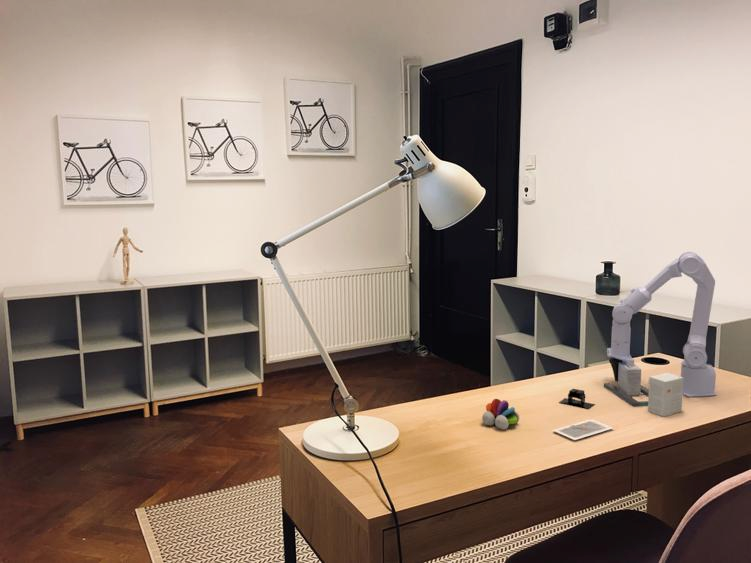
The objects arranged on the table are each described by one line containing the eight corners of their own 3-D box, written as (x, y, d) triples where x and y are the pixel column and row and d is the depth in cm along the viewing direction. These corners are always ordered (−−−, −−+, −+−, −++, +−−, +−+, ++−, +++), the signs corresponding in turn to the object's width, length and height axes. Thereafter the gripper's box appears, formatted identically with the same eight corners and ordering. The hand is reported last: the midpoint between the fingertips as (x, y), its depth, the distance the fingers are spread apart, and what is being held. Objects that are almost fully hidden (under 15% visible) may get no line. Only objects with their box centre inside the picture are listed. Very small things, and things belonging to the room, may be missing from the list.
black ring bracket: (552, 404, 197) (552, 390, 196) (561, 398, 202) (562, 383, 201) (592, 413, 189) (592, 398, 188) (601, 406, 194) (601, 391, 194)
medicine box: (640, 395, 201) (642, 369, 200) (626, 396, 201) (627, 369, 200) (631, 387, 209) (632, 361, 208) (617, 387, 209) (618, 362, 208)
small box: (665, 406, 192) (667, 372, 190) (682, 412, 187) (684, 377, 185) (646, 411, 188) (648, 376, 187) (663, 417, 183) (665, 381, 182)
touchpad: (613, 431, 175) (614, 424, 174) (574, 444, 167) (574, 436, 167) (590, 422, 181) (591, 415, 181) (552, 434, 174) (552, 426, 173)
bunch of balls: (495, 416, 186) (495, 392, 185) (524, 424, 180) (524, 399, 178) (477, 424, 181) (477, 399, 179) (506, 433, 174) (507, 407, 173)
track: (635, 385, 212) (635, 381, 211) (667, 404, 193) (667, 401, 193) (603, 386, 210) (603, 383, 210) (633, 406, 192) (633, 403, 192)
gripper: (598, 335, 216) (597, 375, 218) (619, 346, 202) (617, 388, 204) (618, 335, 216) (617, 374, 219) (641, 346, 202) (639, 387, 204)
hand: (618, 381), depth 211 cm, fingers closed
